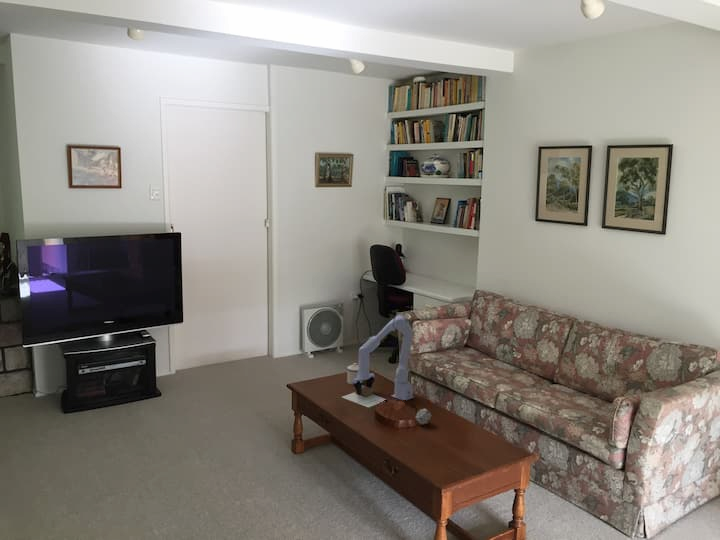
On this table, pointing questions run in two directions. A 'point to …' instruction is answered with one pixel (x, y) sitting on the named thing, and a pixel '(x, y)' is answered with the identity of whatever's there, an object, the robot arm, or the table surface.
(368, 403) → the grey mat
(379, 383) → the table surface
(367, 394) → the brown rectangular block
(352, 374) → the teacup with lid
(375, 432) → the table surface
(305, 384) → the table surface
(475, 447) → the table surface
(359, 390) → the robot arm
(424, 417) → the grey rock
